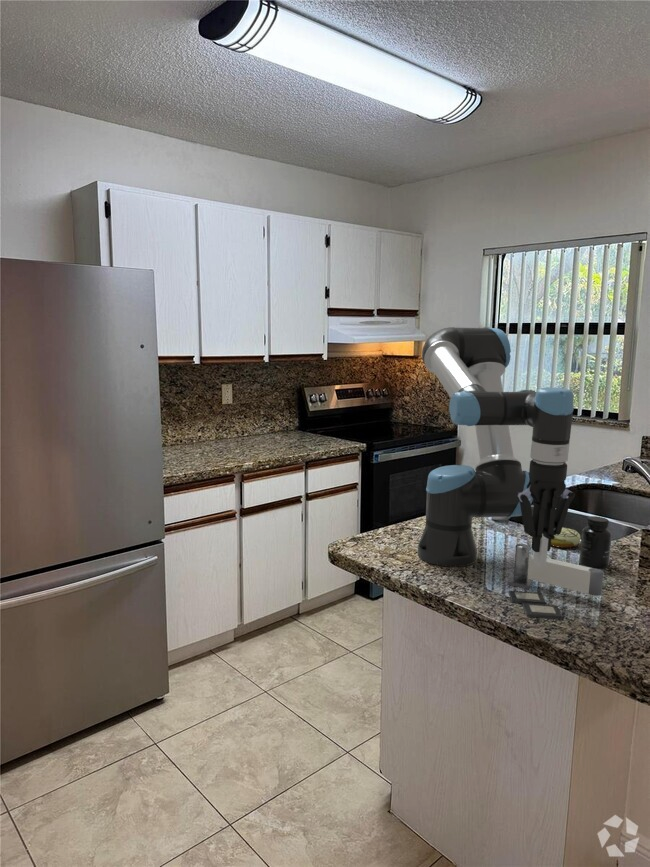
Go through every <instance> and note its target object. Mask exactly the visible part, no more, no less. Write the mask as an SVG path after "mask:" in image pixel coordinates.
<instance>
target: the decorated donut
mask: <svg viewBox="0 0 650 867" xmlns="http://www.w3.org/2000/svg"><path fill="white" fill-rule="evenodd" d="M542 535H543V534H542ZM554 536H555V538H554V539H553V540H552V539H551V545H554V546H553V547H556V546H559V547H558V548H560V547H561V548H563V547H566V548H572V547H576V546H578V545H579V544H580V543H581V538H582V535H581V534H580V533H579V532H578V531H577V530H575V529H572V528H567V527H564V526H563V527H562V530H561V533H560V534H559V535H557V534H556V535H554Z"/></svg>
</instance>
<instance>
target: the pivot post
mask: <svg viewBox="0 0 650 867" xmlns="http://www.w3.org/2000/svg"><path fill="white" fill-rule="evenodd" d="M514 550H515V551H514V552H515V553H514V568H513V573H511V574H510V576H509V577H508V579H507V580H506V585H507V586H511V587H517V588H522V589H526V590H527V589H528V590H530V588H531V586H532V585H533V582H534V580H531V579H528V565H529V557H530V545H529V544H525V543H516V544H515V549H514Z"/></svg>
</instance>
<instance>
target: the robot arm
mask: <svg viewBox="0 0 650 867" xmlns="http://www.w3.org/2000/svg"><path fill="white" fill-rule="evenodd" d="M421 350H422V351H421V359H422V362H423V364H424V366H425V368H426V369H427V371H429V372H430V373H431V374H434V375H435V376H436V378H437V379H438V381H439V382H440V384H441V386H443V388H444V390H445V391H446V393H447V395H448V396H449V397H450V400H449V406H448V408H449V409H448V410H449V415H450V420H451V422H452V423H453V424H454V425H456V426H467V427H473V426H474V427H475V435H476V442H477V448H478V454H479V462H478V464H477V465H476V466H475V469H474V467H473V466H470V465H465V464H464V465H463V464H462V465H459V464H451V465H444V466H440V467H437V468H435V469H432V470H431V471H430V472H429V473H428V476H427V480H426V481H427V483H426V488H425V491H426V503H425V504H426V506H425V526H424V529H423V531H422V535H421V536H420V538H419V541H418V545H417V556H418V557H419V559H421V560H422V561H424V562H427V563H429V564H432V565H435V566H443V567H454V568H455V567H464V566H466V567H467V566H469V565H472V564H474V563H475V562H476V561H477V559H478V549H477V544H476V541H475V537H474V534H473V531H472V527H473V526H472V525H473V518H491V517H507V518H509V517H510V518H511V517H522V519H521V520H522V525H523V532H524V533H525V534H527V535H529V536H530V537H531V546H530V547H531V551H533V555H534V558H533V563H534V564H536V565H537V566H538V567H540V568H541V567H546V560H547V558H548V552H550V551H551V550H552V549H551V548H552V546H551V539H552V540H553V539H554V538H555V536H554V535H556V534H557V535H559V534H560V533H561V530H562V527H564V523H565V521H566V517H567V515H568V511H569V508H570V505H571V503H572V501H573V500H574V498H575V497H576V493H575V492H573V491H571V490H570V489H568V488H567V485H566V483H565V481H566V480H567V475H568V474H567V472H568V464H567V463H566V462H568V460H569V453H570V452H569V451H570V441H571V433H572V432H571V431H572V425H573V424H572V423H573V415H574V409H575V408H574V407H575V406H574V395H575V394H574V392H573V391H572V390H571V389H568V388H562V387H551V386H550V387H549V386H546V387H540V388H538V389H537V390H533V389H520V390H517V391H504V389H503V383H502V382H503V381H502V376H503V375H504V374H505V372H506V368H507V367H508V366H509V365H510V362H511V344H510V340H509V338H508V335H507V334H506V333H505V331H503V330H502V329H500V328H493V327H489V326H484V327H450V326H449V327H445V328H441V329H439V330H436V331H435V332H434V333H432V334H431V335H430V336H429V337H428V338H427V339H426V341H425V342H424V344H423V347H422V349H421ZM510 426H529V427H531V428H532V436H531V446H530V456H529V457H530V458H531V460H530V461H529V469H528V471H527V470H523V469H522V468H523V467H522V462H521V461H520V460H519V459H518V458H516V457H515V455H514V452H513V445H512V439H511V438H512V437H511V433H510ZM532 505H533V509H532ZM510 518H509V519H510ZM542 534H543V535H542Z"/></svg>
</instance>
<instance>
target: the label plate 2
mask: <svg viewBox="0 0 650 867" xmlns="http://www.w3.org/2000/svg"><path fill="white" fill-rule="evenodd" d="M522 607H523V610H524V612H525V615H526V617H528V618H529V617H530V618H531V617H532V618H540V619H555V620H557V619H558V620H564V619H563V618H564V617H563V615H562V612H561V610H560V609H559V606H558V605H557V604H556V605H555V604H546V605H543V604H530V603H522Z"/></svg>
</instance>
